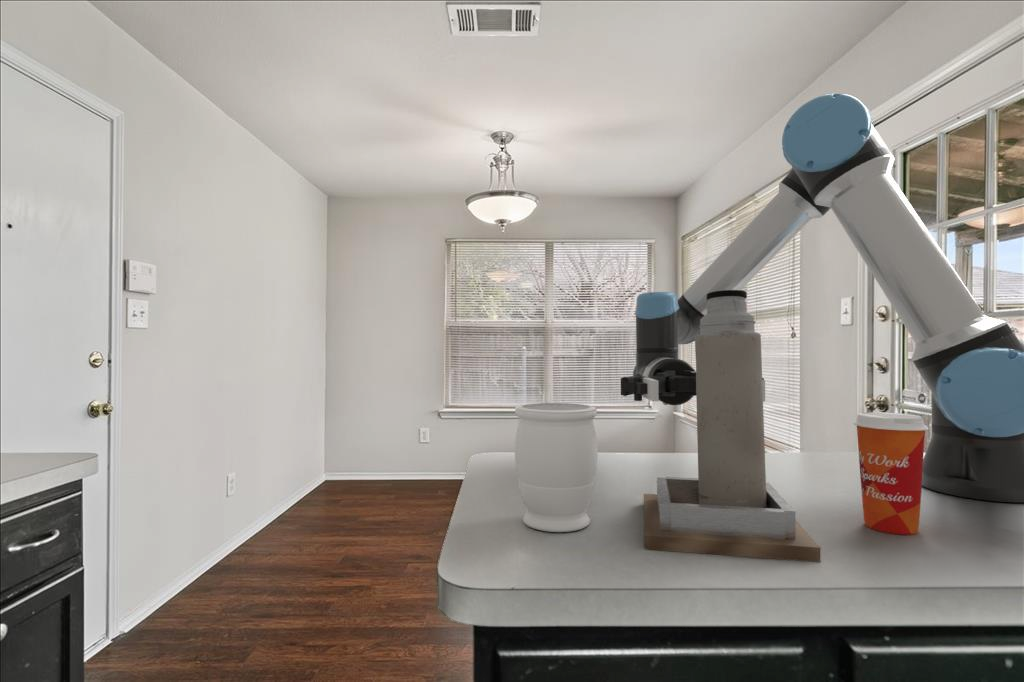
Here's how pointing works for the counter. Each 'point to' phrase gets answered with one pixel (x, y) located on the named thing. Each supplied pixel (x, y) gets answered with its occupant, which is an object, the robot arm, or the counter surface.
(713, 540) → the walnut dock board
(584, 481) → the jar
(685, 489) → the steel collar
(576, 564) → the counter surface
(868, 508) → the paper cup
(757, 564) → the counter surface
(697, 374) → the thermos bottle
